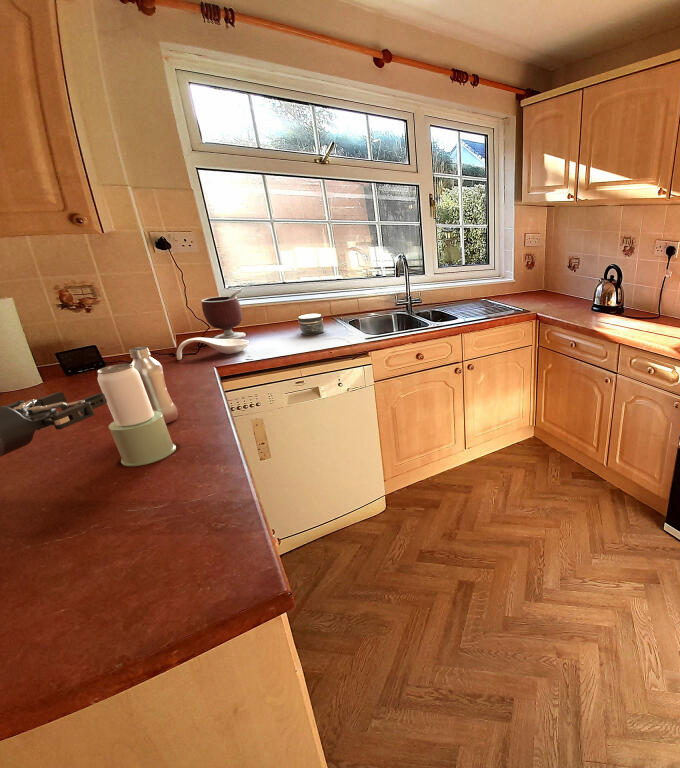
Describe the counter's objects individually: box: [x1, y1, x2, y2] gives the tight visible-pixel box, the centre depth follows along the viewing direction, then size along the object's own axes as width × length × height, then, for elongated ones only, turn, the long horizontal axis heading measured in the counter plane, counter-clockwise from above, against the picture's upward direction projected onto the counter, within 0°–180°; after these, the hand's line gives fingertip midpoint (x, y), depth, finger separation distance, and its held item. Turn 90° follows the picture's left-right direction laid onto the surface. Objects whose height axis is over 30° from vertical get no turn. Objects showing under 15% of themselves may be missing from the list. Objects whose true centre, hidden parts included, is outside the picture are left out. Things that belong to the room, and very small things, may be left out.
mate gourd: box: [201, 290, 247, 339], centre depth 184 cm, size 16×14×20 cm
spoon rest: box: [176, 337, 250, 361], centre depth 163 cm, size 24×12×7 cm, turn 123°
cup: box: [108, 411, 177, 467], centre depth 93 cm, size 10×10×9 cm
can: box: [96, 363, 154, 427], centre depth 88 cm, size 6×6×12 cm
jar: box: [297, 313, 325, 336], centre depth 192 cm, size 10×10×8 cm
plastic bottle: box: [128, 346, 179, 425], centre depth 106 cm, size 6×7×20 cm
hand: (83, 397), depth 81 cm, fingers open, 8 cm apart
